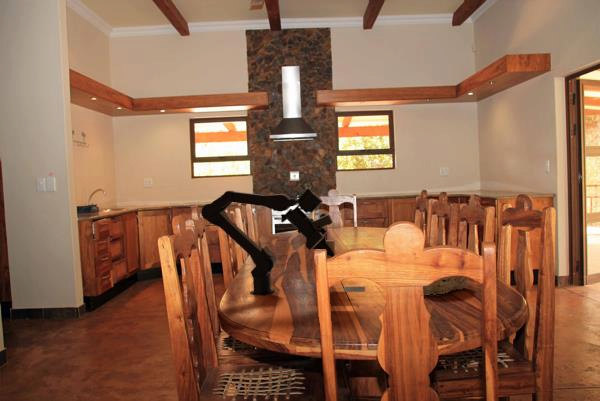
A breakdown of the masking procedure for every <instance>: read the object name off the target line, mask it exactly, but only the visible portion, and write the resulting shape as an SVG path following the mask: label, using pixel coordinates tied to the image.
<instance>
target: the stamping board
mask: <svg viewBox="0 0 600 401" xmlns="http://www.w3.org/2000/svg"><path fill="white" fill-rule="evenodd" d="M343 292H344V293H346V292H347V293H348V292H349V293H354V292H355V293H359V292H360V293H361V292H362V293H364V292H365V293H366V286H344V288H343Z"/></svg>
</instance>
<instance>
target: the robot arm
mask: <svg viewBox="0 0 600 401" xmlns="http://www.w3.org/2000/svg"><path fill="white" fill-rule="evenodd" d="M233 203H235V204H236V203H238V204H245V205H251V206H252V205H255V206H260V207H261V206H262V207H265V208H268V209H270V210H273V211H276V212H285V211H286V212H285V213H282V214H281V215H280V217H281V219H280V220H281V221H280V222H281V223H285V222H286V221H288V222H289V223H290V224H291V225H292V226H293V227H294V228H295V229H296V230H297V233H298V234H301V235H302V237H304V238H305V247H306V248H307V249H308V250H309V251H311V250H313V251H316V250H315V249H326V250H327V255H329V256H331V257H333V256H334V255H335V256H336V253H335V254H334V253H333V251H332V250H331V248H330V247H329V246H328V244H327V243H326V240H328V229H326V228H325V226H329V225H331V224H333V223H334V222H333V220H332V218H331V215H330V214H329V213H328V214H326V213H324V212H323V213H321V214H319V218H317V219H313V218H310V217H309V216H308V215H307V214H308V213H310V214H312V213H313V212H314V211H315V210H316V209H317V208H318V207H319V206H320V205H321V204H322V203H323V200H322V198H321V197H320V196H319V195H318V194H317V193H315V192H314V191H312V190H311V189H310V188H307V189H306V190H305V191H304V192H303V193H302V194H301V195H300V197H299V198H296V197H295V198H293V197H290V195H288V194H286V193H278V194H258V193H252V192H250V193H249V192H241V191H234V190H226V191H225V192H224V193H223V194H221V195H220V196H219V197H218V198H216V199H214V200H213V201H212V202H211V203H210V202H209V203H206V204H205V205H203V207H202V208H201V215H200V216H201V217H202V218H203V219H204V220H205V221H207V222H209V223H210V224H212V225H214V226H216V227H218V228H220V229H221V230H223V231H224V233H226V235H228V236H229V237H230V238H231V239H232V241H234V242H235V243H236V244H237V245H238V246H239V247H240V248H242V249H243V251H245V252H246V253H247V254H248V255H249V256H250V259H251V260H252V263H253V264H254V265H255V266H254V268H253V269H252V270H251V271H250V274H251V277H252V282H253V284H252V285H253V290H251V291H249V294H252V295H253V294H254V295H261V296H262V295H263V296H267V295H268V294H271V293H273V292H275V291H276V290H275V289H272V276H271V272H272V270H273V269H274V268H275V267H276V266H277V263H278V261H277V257H276V255H275V254H276V253H275V252H274V251H272V250H271V249H270V248H269V246H267V245H265V246H264V247H261V246H259V244H257V243H255V241H254V240H253V239H252V238H250V237H249V236H248V235H247V234H246V233H245V232H244V231H243V230H242V229H241V228H240V227H238V225H237V224H235V223H234V222H233V221H232V220H231V219H230V218H229V215H228V214H227V211H225V210H226V209H227V208H229V206H231V204H233ZM295 206H296V207H295ZM291 207H295V208H294V209H292V208H291Z"/></svg>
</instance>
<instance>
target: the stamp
mask: <svg viewBox="0 0 600 401" xmlns="http://www.w3.org/2000/svg"><path fill="white" fill-rule="evenodd" d="M326 243H327V244H328V246H329V247H330V248H331V250H332V251H333V253H334V254H335V255H336V249H335V248H336V247H335V246H336V243H335V239H327V240H326ZM327 258H331V256H329V255H327Z"/></svg>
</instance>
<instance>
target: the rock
mask: <svg viewBox="0 0 600 401" xmlns="http://www.w3.org/2000/svg"><path fill="white" fill-rule="evenodd" d="M468 278H469V277H468ZM468 278H465V277H447V278H443V279H440V280H438V281H436V282H434V283H432V284H431V285H429V286H425V287H424V288H423V289H424V295H425V294H443V295H446V294H449V293H448V292H450V291H453V290H455V291H456V289H457V290H459V289H460V290H462V289H463V288H465V289H466V287H467V285H468V281H469V280H468ZM463 290H464V289H463ZM453 292H454V291H453ZM445 293H446V294H445ZM450 293H451V292H450Z"/></svg>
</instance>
